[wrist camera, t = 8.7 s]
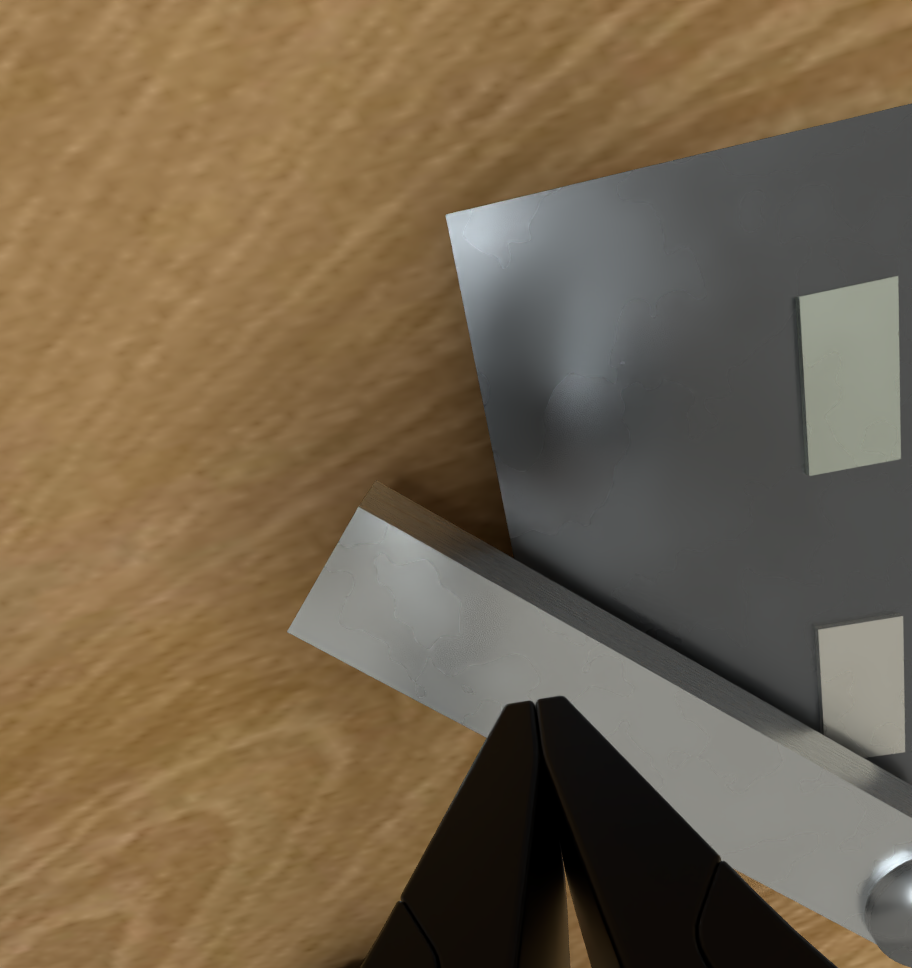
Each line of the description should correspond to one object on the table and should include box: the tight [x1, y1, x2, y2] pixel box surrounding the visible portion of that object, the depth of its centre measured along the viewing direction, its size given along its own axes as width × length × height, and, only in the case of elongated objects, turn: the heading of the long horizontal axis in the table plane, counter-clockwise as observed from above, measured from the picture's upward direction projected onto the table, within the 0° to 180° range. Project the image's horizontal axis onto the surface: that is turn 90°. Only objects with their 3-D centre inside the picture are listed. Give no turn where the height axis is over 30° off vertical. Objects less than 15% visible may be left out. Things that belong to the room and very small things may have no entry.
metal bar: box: [287, 480, 912, 968], centre depth 17 cm, size 22×4×3 cm, turn 60°
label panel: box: [446, 104, 912, 785], centre depth 18 cm, size 23×16×1 cm
